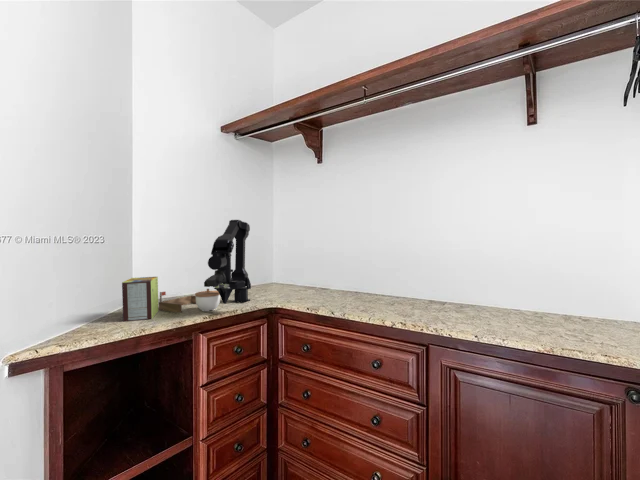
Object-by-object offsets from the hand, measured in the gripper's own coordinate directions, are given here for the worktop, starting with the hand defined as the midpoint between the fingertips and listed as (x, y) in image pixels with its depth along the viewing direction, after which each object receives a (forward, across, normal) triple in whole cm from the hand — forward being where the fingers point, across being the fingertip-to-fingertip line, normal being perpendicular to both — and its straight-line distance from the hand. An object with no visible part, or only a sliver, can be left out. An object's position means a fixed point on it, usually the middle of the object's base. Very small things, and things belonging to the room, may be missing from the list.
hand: (224, 303), depth 141 cm
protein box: (+4, -27, -20) cm, 34 cm away
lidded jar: (+4, -10, 0) cm, 10 cm away
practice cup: (+4, -23, 0) cm, 24 cm away
